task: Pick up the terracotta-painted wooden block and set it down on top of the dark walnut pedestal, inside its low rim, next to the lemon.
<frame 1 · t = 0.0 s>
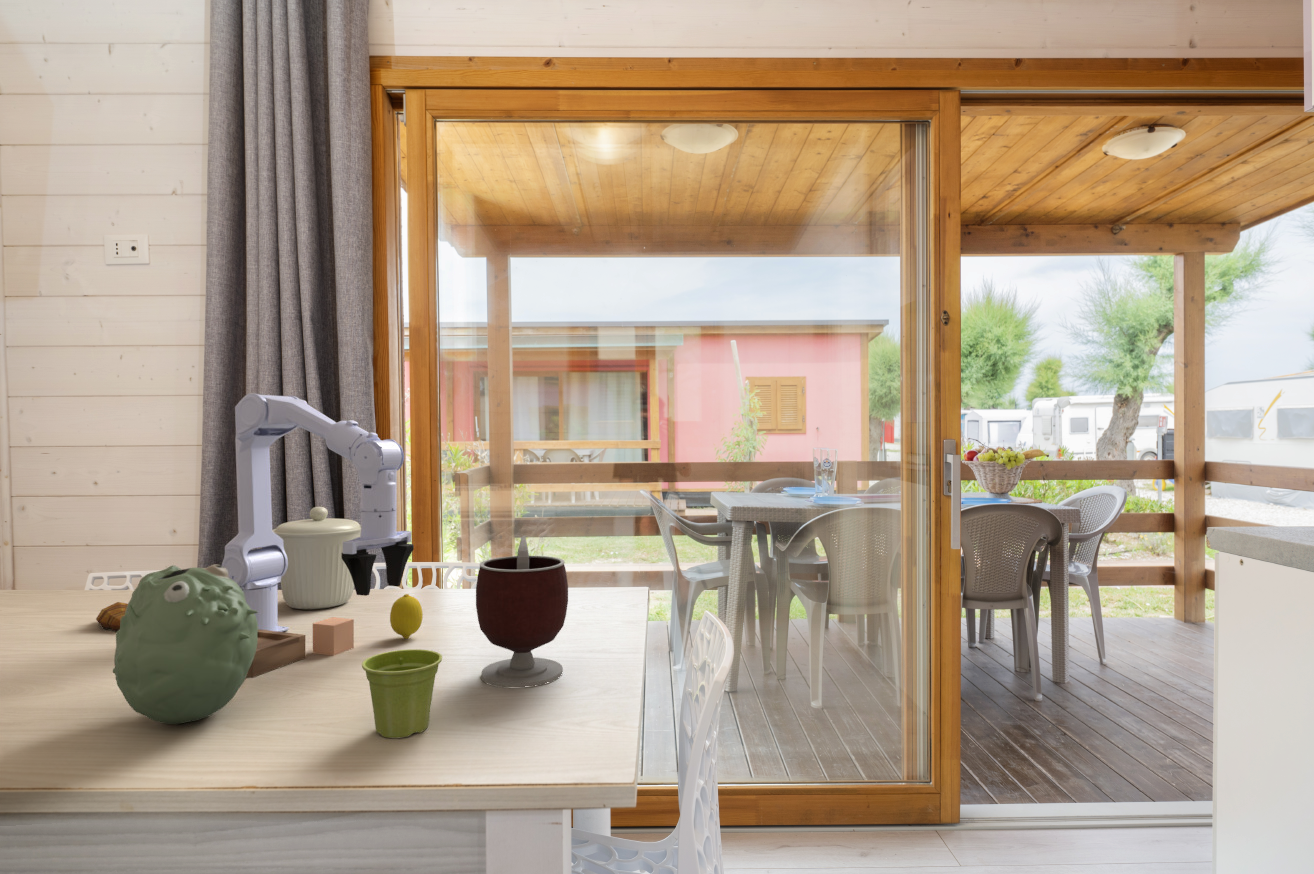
hand: (378, 590, 123), 10 cm above the table, tool pointing down, fingers open, 7 cm apart
mate gourd: (522, 673, 112), on the table
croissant: (118, 629, 138), on the table
canister: (318, 605, 156), on the table
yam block: (333, 650, 123), on the table
lemon: (406, 639, 130), on the table
green pufferfish toy: (187, 720, 93), on the table
plant pot: (402, 730, 90), on the table
walnut base: (256, 663, 116), on the table
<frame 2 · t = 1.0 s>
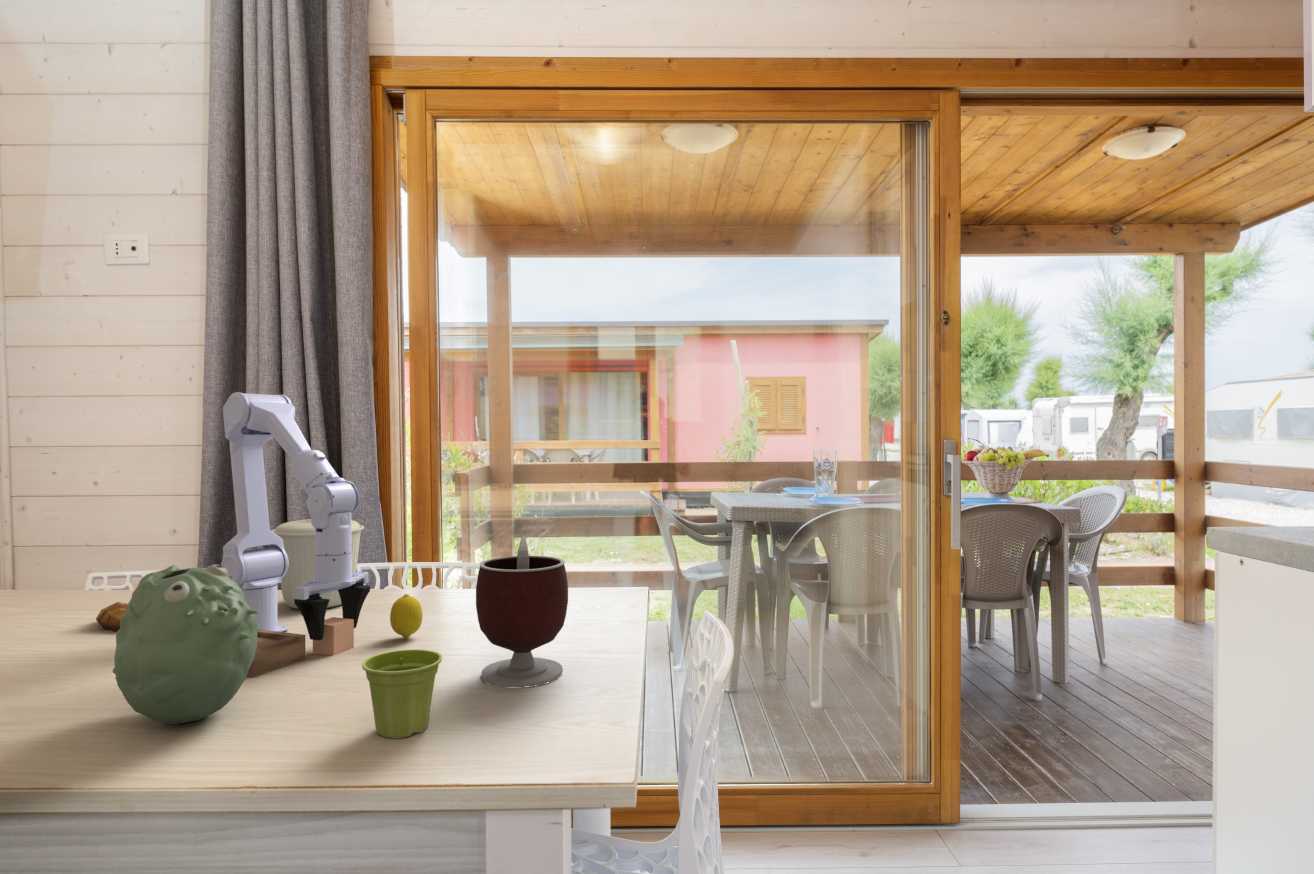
hand: (333, 633, 123), 3 cm above the table, tool pointing down, fingers open, 7 cm apart
nothing on the table moved.
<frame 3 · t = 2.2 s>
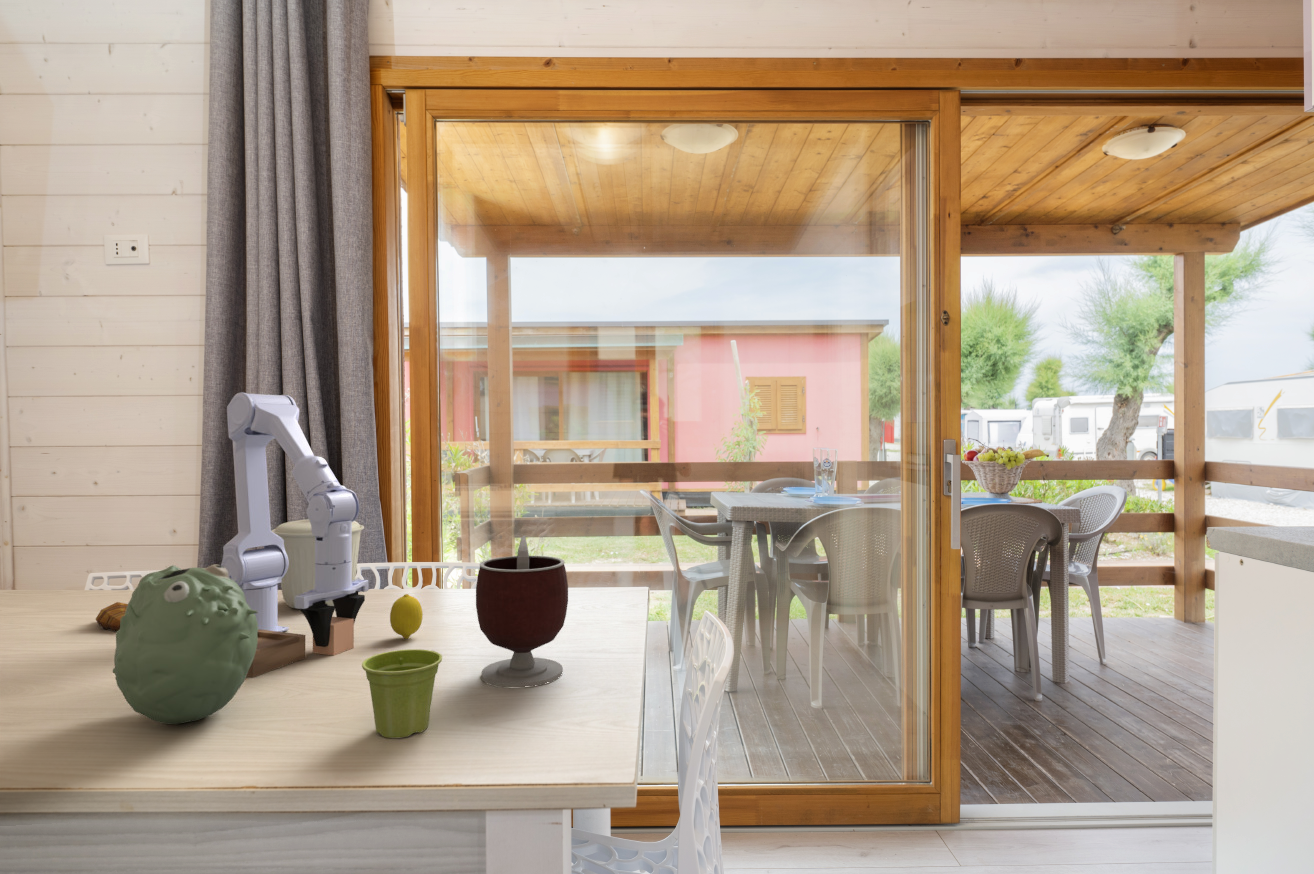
hand: (333, 641, 123), 1 cm above the table, tool pointing down, fingers closed on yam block, 4 cm apart
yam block: (333, 650, 123), on the table, touching gripper
everything else where it was.
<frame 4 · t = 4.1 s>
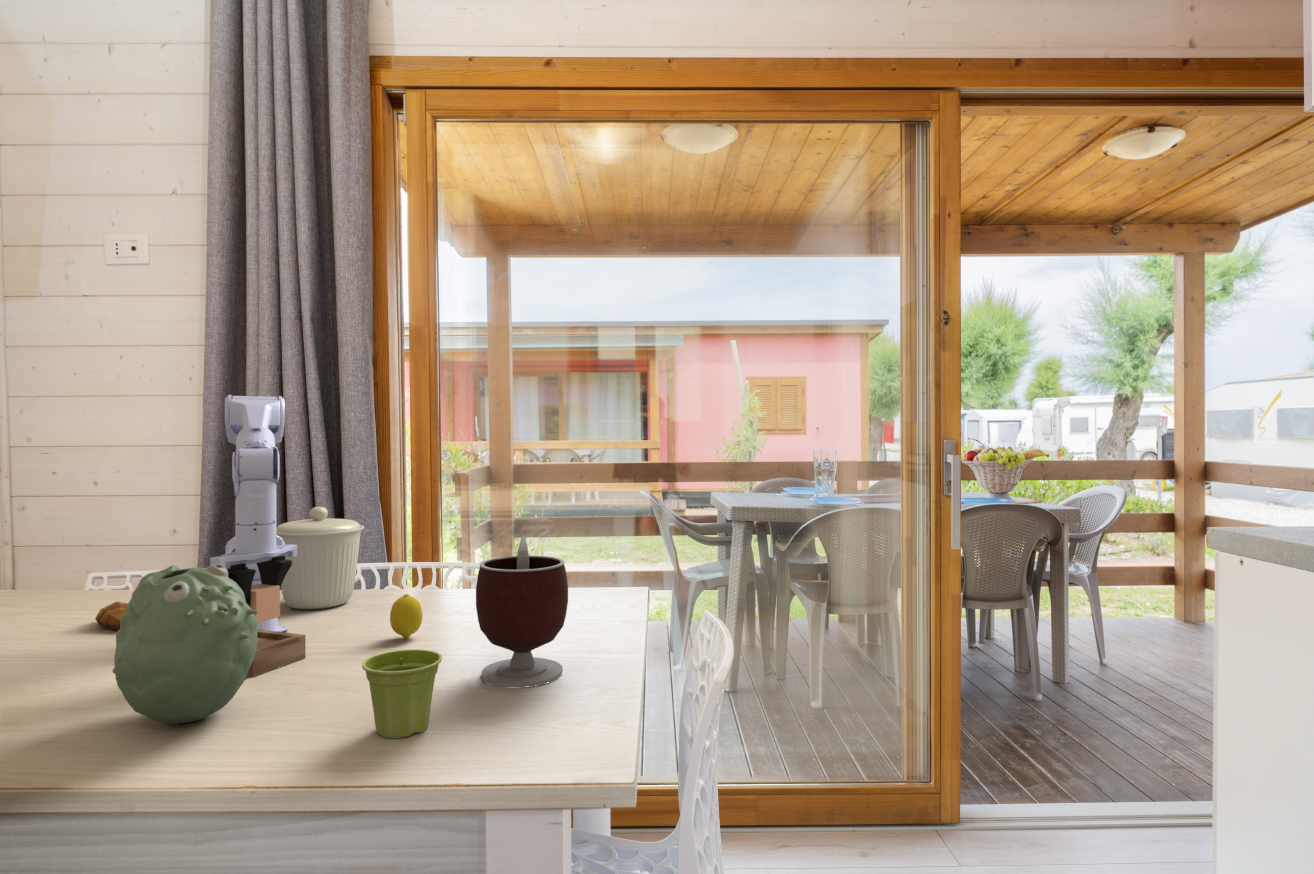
hand: (256, 608, 116), 9 cm above the table, tool pointing down, fingers closed on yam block, 4 cm apart
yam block: (257, 618, 115), point 7 cm above the table, touching gripper
everything else where it was.
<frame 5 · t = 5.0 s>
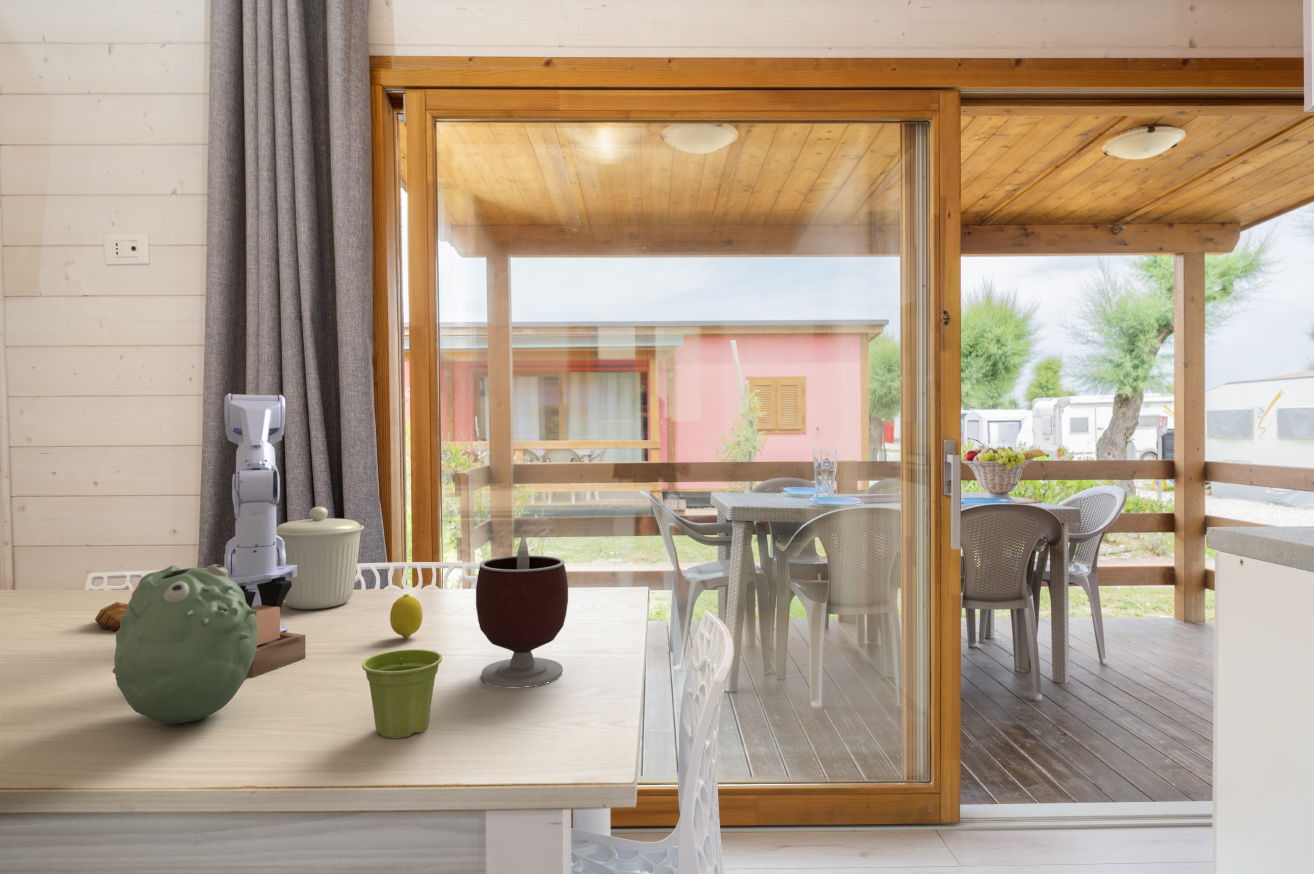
hand: (256, 629, 116), 5 cm above the table, tool pointing down, fingers closed on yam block, 4 cm apart
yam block: (257, 640, 115), point 4 cm above the table, touching gripper
everything else where it was.
when the fingers open (5 cm above the table, at t = 5.5 s): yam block stays where it is, resting on walnut base.
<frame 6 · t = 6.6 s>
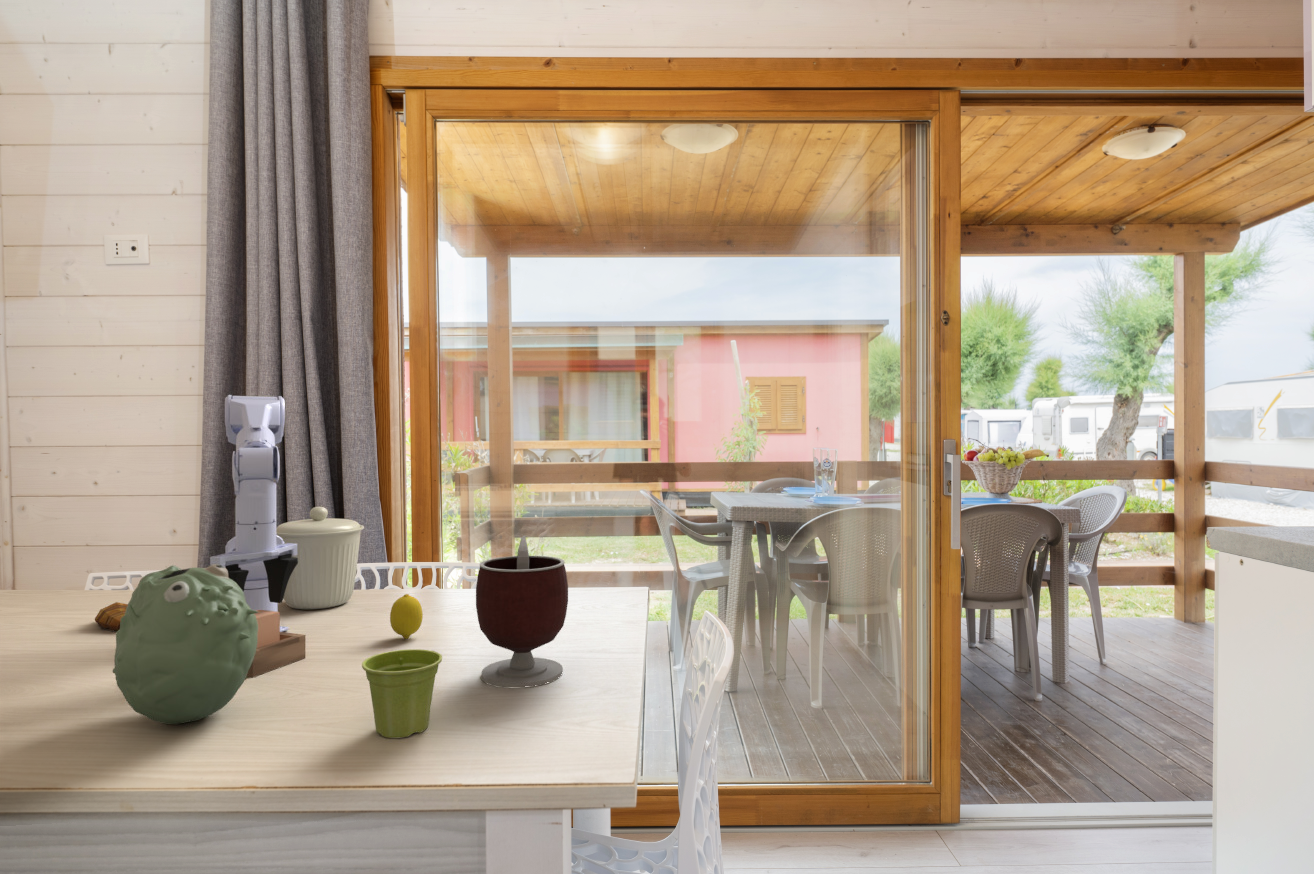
hand: (256, 607, 116), 9 cm above the table, tool pointing down, fingers open, 7 cm apart
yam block: (257, 645, 115), point 3 cm above the table, touching walnut base
everything else where it was.
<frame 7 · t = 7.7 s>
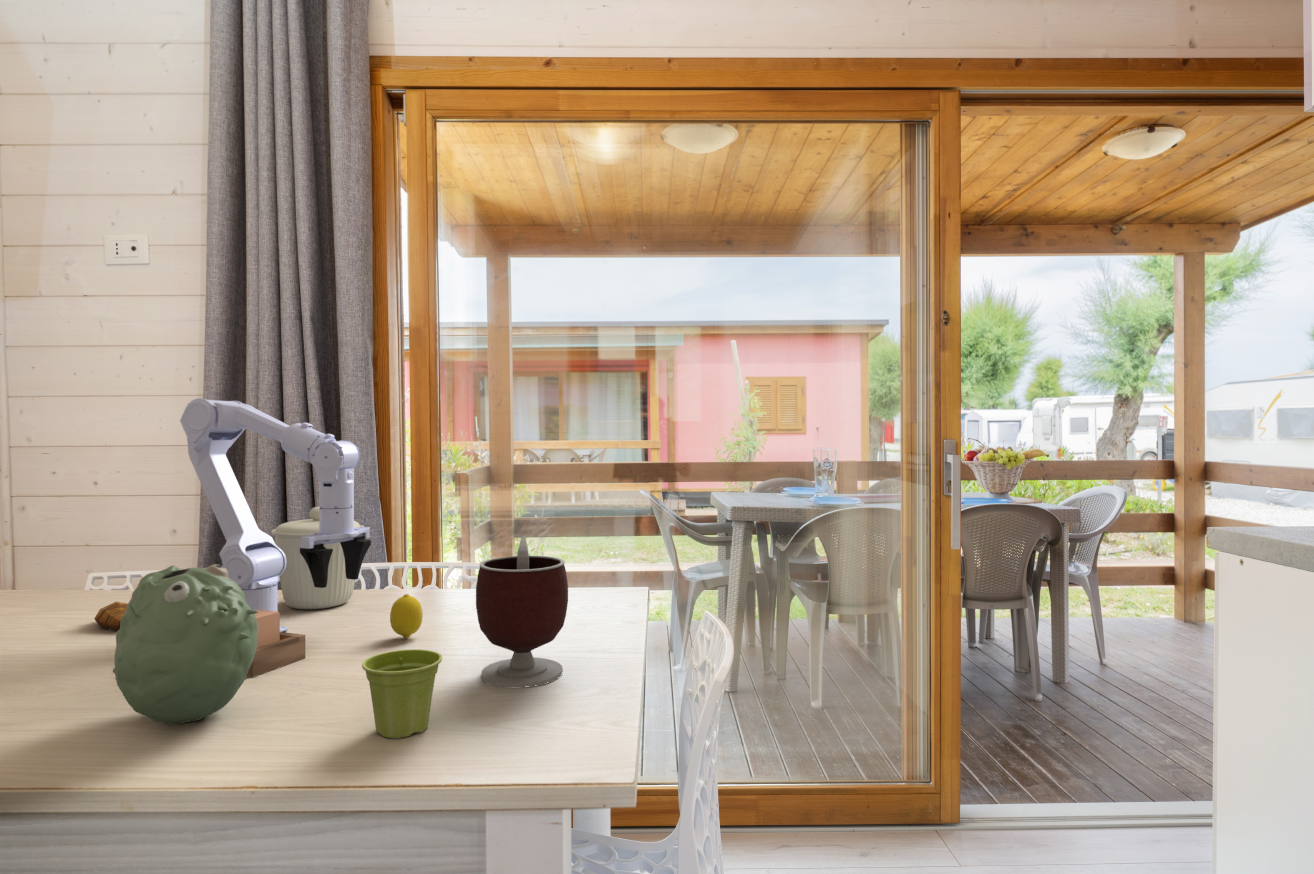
hand: (336, 582, 130), 10 cm above the table, tool pointing down, fingers open, 7 cm apart
nothing on the table moved.
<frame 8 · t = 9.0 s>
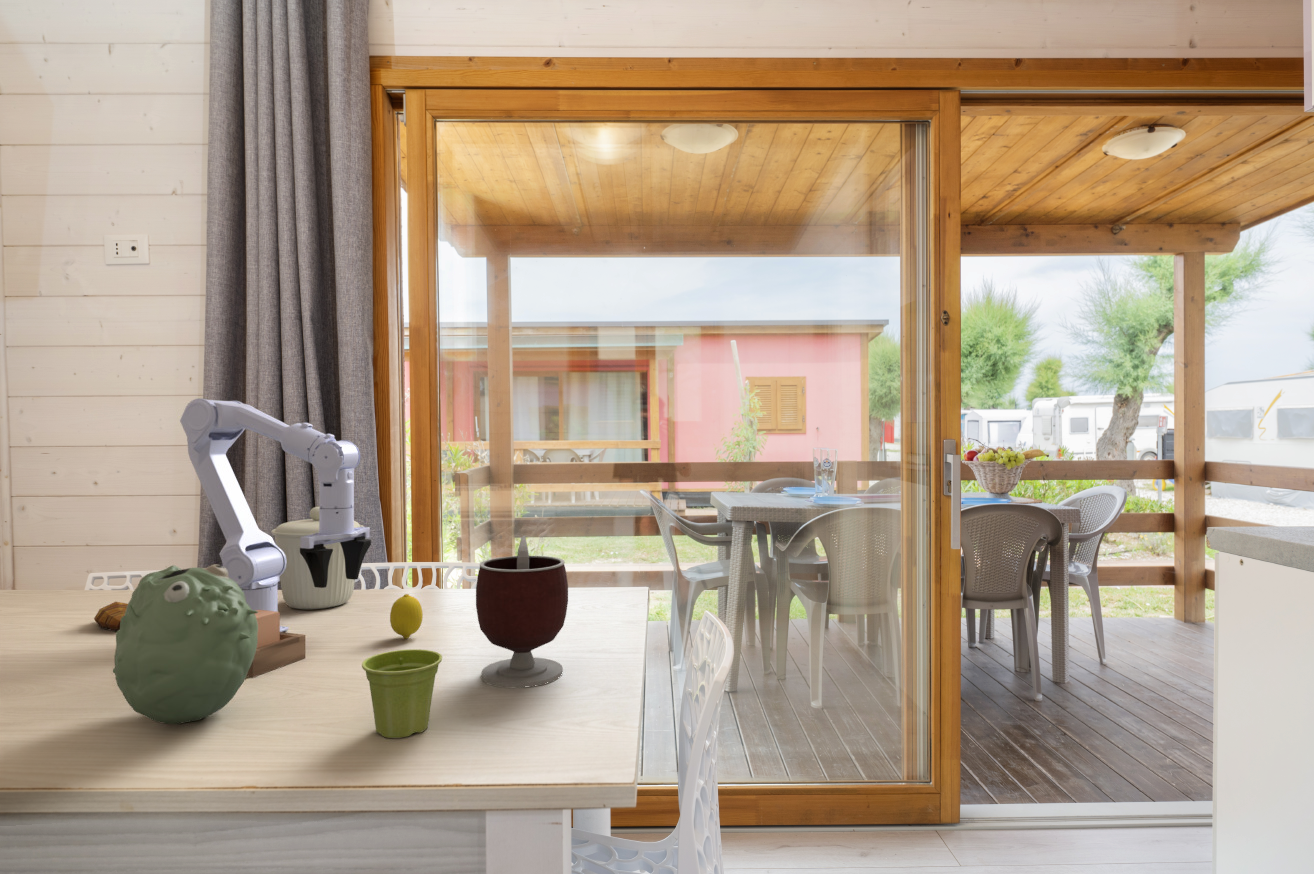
hand: (336, 582, 130), 10 cm above the table, tool pointing down, fingers open, 7 cm apart
nothing on the table moved.
at the end: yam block 0.3 cm from the walnut base (horizontally); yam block point 3.0 cm above the table; the gripper is holding nothing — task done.
